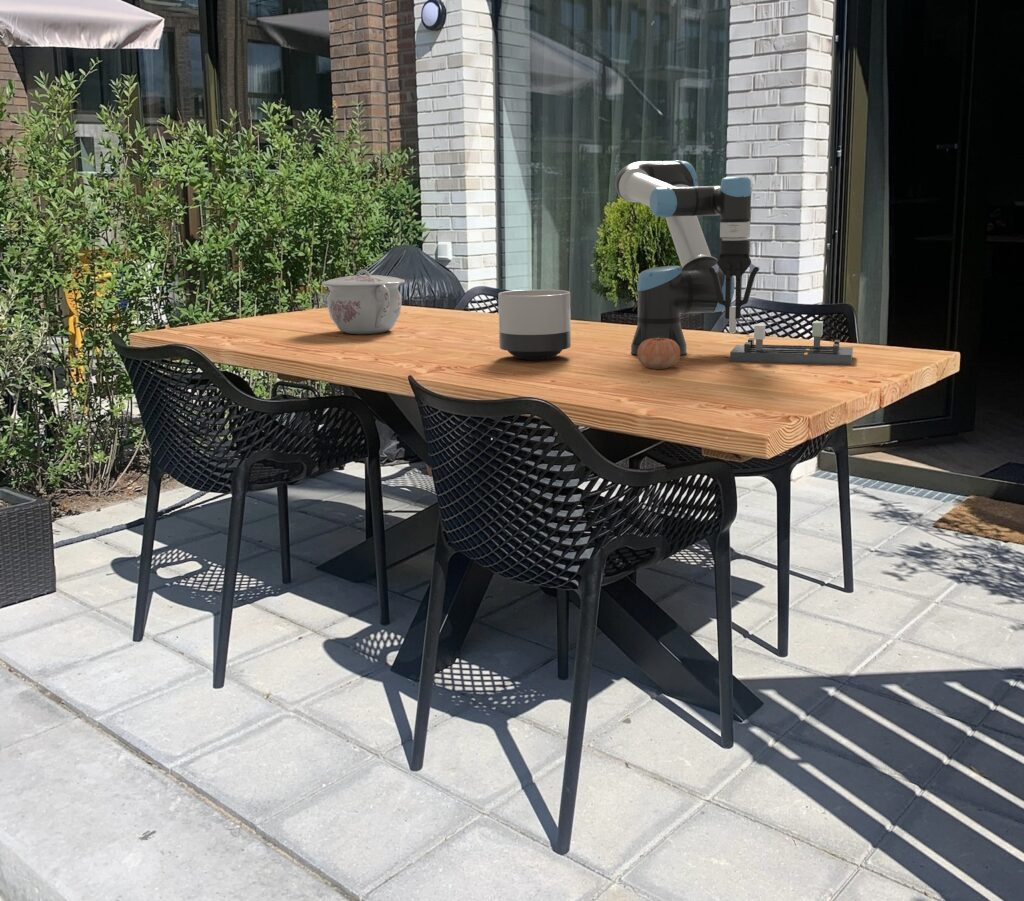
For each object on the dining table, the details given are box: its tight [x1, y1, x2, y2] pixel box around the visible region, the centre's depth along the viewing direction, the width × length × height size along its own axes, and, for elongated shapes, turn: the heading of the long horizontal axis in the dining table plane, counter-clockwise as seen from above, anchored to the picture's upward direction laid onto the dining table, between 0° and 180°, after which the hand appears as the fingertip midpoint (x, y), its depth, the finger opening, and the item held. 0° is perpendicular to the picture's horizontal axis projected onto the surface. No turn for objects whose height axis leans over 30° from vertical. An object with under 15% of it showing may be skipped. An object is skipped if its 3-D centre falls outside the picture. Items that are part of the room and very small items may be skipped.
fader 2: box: [811, 320, 824, 347], centre depth 283 cm, size 2×4×6 cm, turn 162°
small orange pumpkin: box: [636, 337, 681, 370], centre depth 272 cm, size 11×11×8 cm
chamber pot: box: [321, 268, 406, 336], centre depth 356 cm, size 28×28×21 cm
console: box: [729, 337, 854, 366], centre depth 281 cm, size 30×16×4 cm, turn 72°
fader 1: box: [753, 323, 766, 350], centre depth 280 cm, size 2×4×6 cm, turn 162°
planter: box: [497, 288, 572, 361], centre depth 292 cm, size 19×19×18 cm
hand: (732, 331), depth 281 cm, fingers closed
